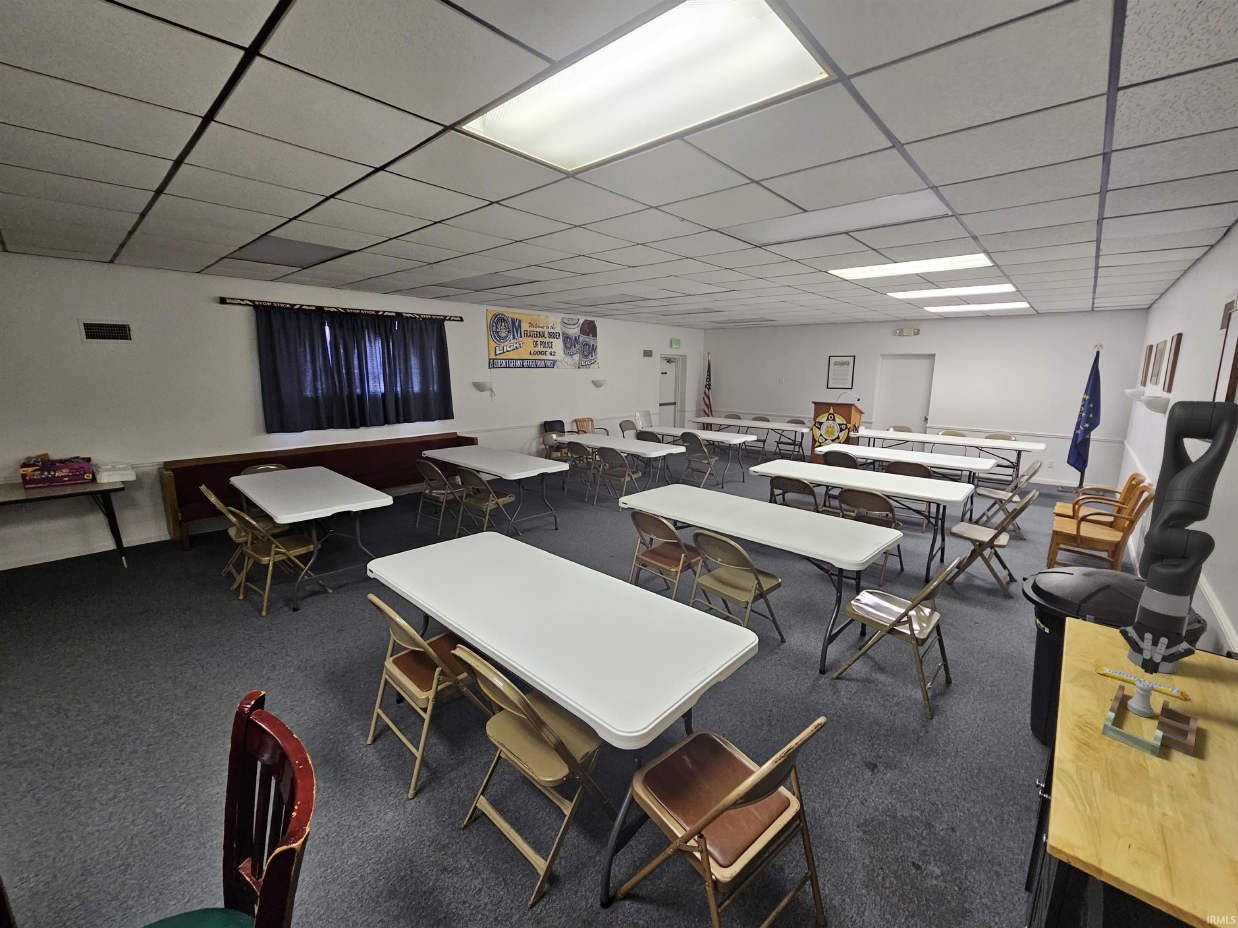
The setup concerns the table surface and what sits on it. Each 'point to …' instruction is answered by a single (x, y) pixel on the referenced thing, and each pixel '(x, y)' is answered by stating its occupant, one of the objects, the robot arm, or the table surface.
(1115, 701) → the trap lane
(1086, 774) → the table surface
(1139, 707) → the rook chess piece
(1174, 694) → the candy bar
